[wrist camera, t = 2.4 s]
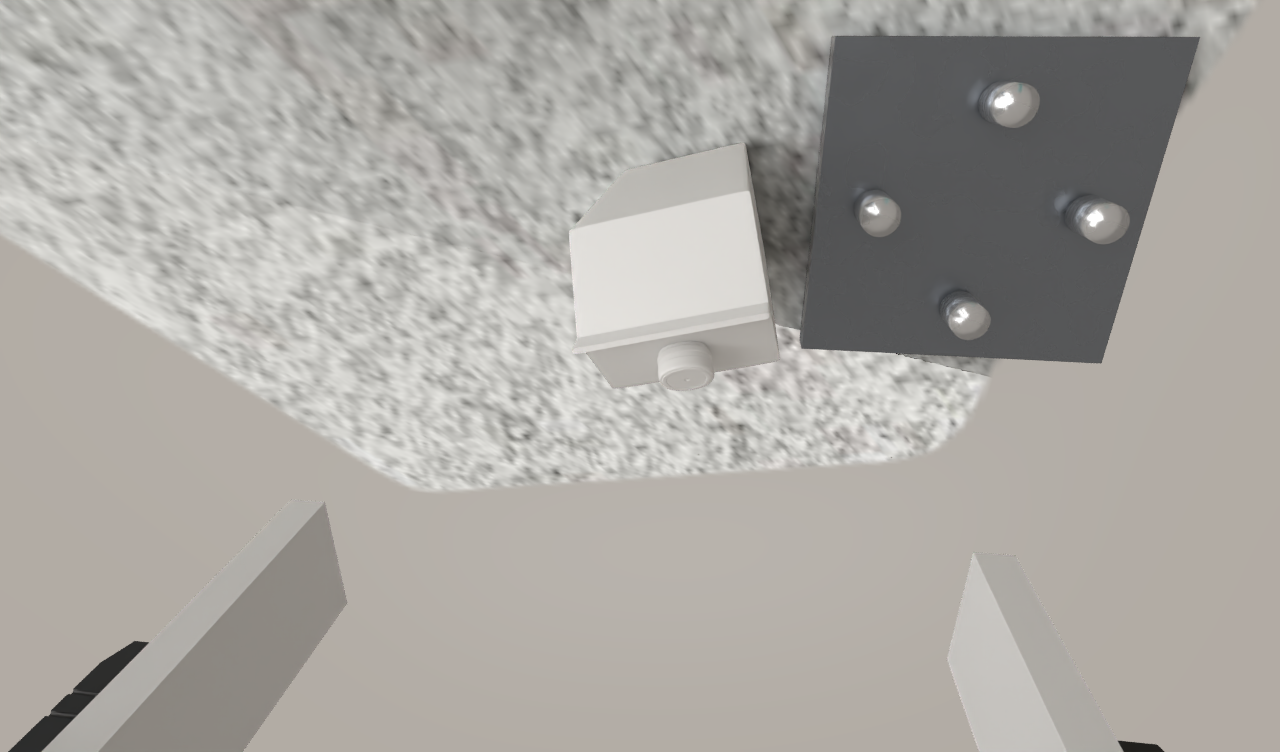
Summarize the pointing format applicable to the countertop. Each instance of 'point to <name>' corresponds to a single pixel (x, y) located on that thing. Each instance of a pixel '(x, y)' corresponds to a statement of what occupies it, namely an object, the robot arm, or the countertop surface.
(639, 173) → the milk carton
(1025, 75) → the plate
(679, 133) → the countertop surface
